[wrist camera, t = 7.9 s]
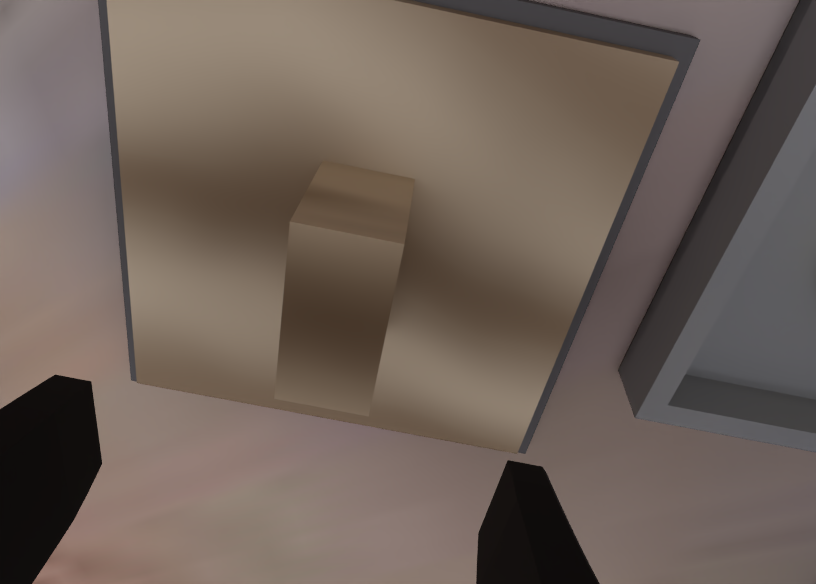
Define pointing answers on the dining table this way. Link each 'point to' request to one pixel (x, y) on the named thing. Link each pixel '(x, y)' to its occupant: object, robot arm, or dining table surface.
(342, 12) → the lid
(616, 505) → the dining table surface
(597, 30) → the mat
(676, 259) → the dish
